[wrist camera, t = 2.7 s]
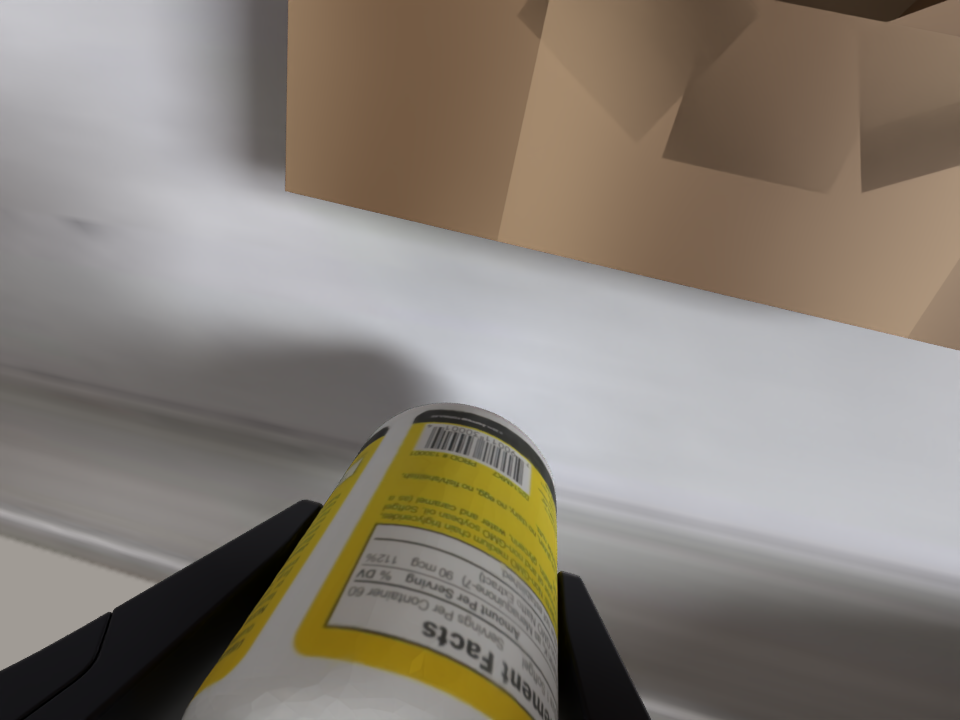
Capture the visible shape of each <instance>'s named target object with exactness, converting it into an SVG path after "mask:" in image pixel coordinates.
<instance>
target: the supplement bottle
mask: <svg viewBox="0 0 960 720" xmlns="http://www.w3.org/2000/svg"><path fill="white" fill-rule="evenodd" d="M556 512H557V507H556V492H555V484H554V480H553V477H552V473H551V471H550V468H549V466H548V464H547V462H546V460H545V458H544V457H543V455H542V454H541V452H540V451H539V449H538V448H537V446H536V445H535V444H534V443H533V442H532V441H531V439H530V438H529V437H528V436H527V435H526V434H525V433H523V432H522V431H521V430H520V429H519V428H518V427H516V426H515V425H513V424H512V423H511V422H509V421H507V420H506V419H504V418H503V417H501V416H499V415H497V414H495V413H492V412H490V411H487V410H484V409H481V408H478V407H474V406H470V405H465V404H458V403H434V404H427V405H422V406H418V407H415V408H412V409H409V410H406V411H404V412H402V413H400V414H398V415H396V416H394V417H393V418H391V419H389V420H388V421H387V422H385V423H384V424H383V425H382V426H380V427H379V428H378V429H377V430H376V431H375V432H374V433H373V434H372V435H371V437H370V438H369V439H368V441H367V442H366V443H365V445H364V446H363V448H362V449H361V450H360V452H359V453H358V455H357V457H356V458H355V460H354V461H353V463H352V464H351V465H350V467H349V468H348V470H347V471H346V473H345V475H344V476H343V478H342V479H341V481H340V482H339V484H338V485H337V487H336V488H335V490H334V491H333V493H332V494H331V496H330V497H329V499H328V500H327V502H326V503H325V505H324V506H323V508H322V509H321V511H320V512H319V514H318V515H317V517H316V518H315V520H314V521H313V523H312V524H311V526H310V527H309V529H308V530H307V532H306V533H305V535H304V536H303V537H302V539H301V540H300V541H299V543H298V545H297V546H296V548H295V549H294V551H293V552H292V554H291V555H290V557H289V558H288V560H287V561H286V563H285V565H284V566H283V567H282V569H281V570H280V571H279V573H278V574H277V576H276V577H275V579H274V580H273V582H272V584H271V585H270V587H269V588H268V589H267V591H266V592H265V594H264V595H263V596H262V598H261V599H260V601H259V602H258V604H257V605H256V606H255V608H254V609H253V611H252V612H251V614H250V615H249V617H248V618H247V620H246V621H245V623H244V624H243V626H242V627H241V629H240V630H239V632H238V633H237V634H236V636H235V637H234V639H233V640H232V642H231V643H230V644H229V646H228V647H227V649H226V650H225V652H224V653H223V655H222V656H221V658H220V659H219V661H218V662H217V664H216V665H215V666H214V668H213V669H212V670H211V672H210V673H209V675H208V676H207V677H206V679H205V680H204V682H203V683H202V685H201V686H200V688H199V689H198V691H197V692H196V694H195V695H194V697H193V699H192V700H191V702H190V703H189V705H188V707H187V708H186V710H185V713H184V715H183V717H182V720H558V594H557V522H556Z"/></svg>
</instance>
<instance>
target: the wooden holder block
mask: <svg viewBox="0 0 960 720" xmlns="http://www.w3.org/2000/svg"><path fill="white" fill-rule="evenodd" d="M285 191H288V192H292V193H296V194H300V195H304V196H309V197H313V198H317V199H321V200H326V201H330V202H334V203H338V204H343V205H347V206H351V207H355V208H359V209H364V210H368V211H372V212H376V213H381V214H385V215H389V216H393V217H397V218H402V219H406V220H410V221H414V222H419V223H423V224H427V225H431V226H436V227H440V228H444V229H448V230H452V231H457V232H461V233H465V234H469V235H474V236H478V237H482V238H486V239H490V240H495V241H499V242H503V243H507V244H512V245H516V246H520V247H524V248H529V249H533V250H537V251H541V252H545V253H550V254H554V255H558V256H562V257H567V258H571V259H575V260H579V261H583V262H588V263H592V264H596V265H600V266H605V267H609V268H613V269H617V270H622V271H626V272H630V273H634V274H638V275H643V276H647V277H651V278H655V279H660V280H664V281H668V282H672V283H676V284H681V285H685V286H689V287H693V288H698V289H702V290H706V291H710V292H714V293H719V294H723V295H727V296H731V297H736V298H740V299H744V300H748V301H753V302H757V303H761V304H765V305H769V306H774V307H778V308H782V309H786V310H791V311H795V312H799V313H803V314H807V315H812V316H816V317H820V318H824V319H829V320H833V321H837V322H841V323H846V324H850V325H854V326H858V327H862V328H867V329H871V330H875V331H879V332H884V333H888V334H892V335H896V336H900V337H905V338H909V339H913V340H917V341H922V342H926V343H930V344H934V345H939V346H943V347H947V348H951V349H955V350H960V0H288V49H287V112H286V175H285Z"/></svg>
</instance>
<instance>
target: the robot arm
mask: <svg viewBox="0 0 960 720" xmlns="http://www.w3.org/2000/svg"><path fill="white" fill-rule="evenodd" d="M322 508H323V505H322V504H321V503H317V502H314V501H310V500H301V501H299V502H297V503H296V504H294V505H292V506H291V507H289V508H287V509H285V510H284V511H282V512H280V513H278V514H277V515H275V516H273V517H272V518H270V519H268V520H266V521H265V522H263V523H261V524H260V525H258V526H256V527H254V528H253V529H251V530H249V531H247V532H246V533H244V534H242V535H241V536H239V537H237V538H235V539H234V540H232V541H230V542H228V543H227V544H225V545H223V546H222V547H220V548H218V549H216V550H215V551H213V552H211V553H209V554H208V555H206V556H204V557H203V558H201V559H199V560H197V561H196V562H194V563H192V564H191V565H189V566H187V567H185V568H184V569H182V570H180V571H178V572H177V573H175V574H173V575H172V576H170V577H168V578H166V579H165V580H163V581H161V582H159V583H158V584H156V585H154V586H153V587H151V588H149V589H147V590H146V591H144V592H142V593H140V594H139V595H137V596H135V597H134V598H132V599H130V600H129V601H127V602H125V603H123V604H122V605H120V606H118V607H116V608H115V609H114V610H113V613H111V612H108V613H106V614H104V615H103V616H100V617H99V618H97V619H95V620H94V621H92V622H90V623H88V624H87V625H85V626H83V627H82V628H80V629H78V630H76V631H74V632H73V633H71V634H69V635H67V636H65V637H64V638H62V639H60V640H58V641H56V642H55V643H53V644H51V645H49V646H47V647H46V648H44V649H42V650H40V651H38V652H36V653H34V654H32V655H31V656H29V657H27V658H25V659H23V660H21V661H19V662H17V663H15V664H13V665H11V666H9V667H7V668H5V669H3V670H1V671H0V720H182V717H183V715H184V713H185V710H186V708H187V707H188V705H189V703H190V702H191V700H192V699H193V697H194V695H195V694H196V692H197V691H198V689H199V688H200V686H201V685H202V683H203V682H204V680H205V679H206V677H207V676H208V675H209V673H210V672H211V670H212V669H213V668H214V666H215V665H216V664H217V662H218V661H219V659H220V658H221V656H222V655H223V653H224V652H225V650H226V649H227V647H228V646H229V644H230V643H231V642H232V640H233V639H234V637H235V636H236V634H237V633H238V632H239V630H240V629H241V627H242V626H243V624H244V623H245V621H246V620H247V618H248V617H249V615H250V614H251V612H252V611H253V609H254V608H255V606H256V605H257V604H258V602H259V601H260V599H261V598H262V596H263V595H264V594H265V592H266V591H267V589H268V588H269V587H270V585H271V584H272V582H273V580H274V579H275V577H276V576H277V574H278V573H279V571H280V570H281V569H282V567H283V566H284V565H285V563H286V561H287V560H288V558H289V557H290V555H291V554H292V552H293V551H294V549H295V548H296V546H297V545H298V543H299V541H300V540H301V539H302V537H303V536H304V535H305V533H306V532H307V530H308V529H309V527H310V526H311V524H312V523H313V521H314V520H315V518H316V517H317V515H318V514H319V512H320V511H321V509H322ZM557 594H558V720H651V718H650V716H649V714H648V712H647V710H646V708H645V706H644V704H643V702H642V700H641V698H640V696H639V694H638V692H637V690H636V688H635V686H634V684H633V682H632V680H631V678H630V676H629V674H628V672H627V670H626V668H625V666H624V664H623V662H622V660H621V658H620V656H619V653H618V651H617V649H616V647H615V645H614V643H613V641H612V639H611V637H610V635H609V633H608V631H607V629H606V627H605V625H604V623H603V621H602V619H601V617H600V615H599V613H598V611H597V609H596V607H595V605H594V603H593V601H592V599H591V597H590V595H589V593H588V591H587V589H586V587H585V585H584V583H583V581H582V579H581V578H580V577H579V576H578V575H574V574H571V573H567V572H564V571H560V572H559V573H558V574H557Z"/></svg>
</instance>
